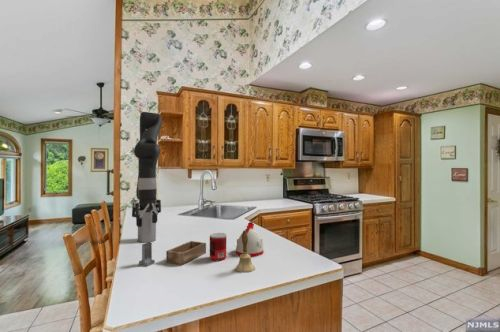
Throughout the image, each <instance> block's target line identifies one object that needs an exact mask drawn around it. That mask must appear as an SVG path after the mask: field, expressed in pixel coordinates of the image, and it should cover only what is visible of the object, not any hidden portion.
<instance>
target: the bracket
mask: <svg viewBox="0 0 500 332" xmlns="http://www.w3.org/2000/svg"><path fill="white" fill-rule="evenodd" d="M152 245H153V243H152V242H144V243H143V244H142V245H141V260H140V261H139V260H138V265H139V266H144V267H149V266H152V265H154V264H155V263H156V262H155V261H156V260H155V259H152V258H153V257H152V251H153V249H152V247H153V246H152Z"/></svg>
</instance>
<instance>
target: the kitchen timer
mask: <svg viewBox="0 0 500 332" xmlns="http://www.w3.org/2000/svg"><path fill="white" fill-rule="evenodd" d="M254 226H255V223H254V222H253V221H251V222H248V223H247V225H246V228H245V230H246V232H247V235H248V242H247V254H249V255H250V256H251V258H254V257H255V258H256V257H259V256H261V255H263V254H264V240H263V238H261V236H260V234H258V232H257V231H256V230H255V229H254ZM242 234H243V232H242V233H241V234H240V235H239V237H238V238H237V239H236V246H235V253H236V255H237V256H239V257H240V255H242V254H243V243H242Z"/></svg>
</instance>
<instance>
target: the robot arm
mask: <svg viewBox="0 0 500 332" xmlns="http://www.w3.org/2000/svg"><path fill="white" fill-rule="evenodd" d="M162 119H163V117H162V115H161V114H159V113H157V112H150V111H149V112H147V111H141V112H140V115H139V140H138V142H136V144H135V147H134V149H133V150H134V151H133V153H134V157H136V158H137V159H138V162H137V163H138V167H137V169H138V171H137V172H138V173H137V175H138V176H137V183H136V191H135V193H136V199H137V200H139V201H138V202H132V207H131V209H132V210H131V212H132V213H131V217H132V218H135V221H136V223H135V224H136V227H137V241H138V242H139V243H148V242H151V243H152V242H155V241H156V239H157V235H156V234H157V223H158V215H159V213H160V214H161V212H162V201H161V199H157V179H156V177H157V175H156V174H157V163H158V160H159V157H160V154H161V147H160V145H158V144H157V143H158V136H159V134H160V131H161V128H162V124H163V120H162Z"/></svg>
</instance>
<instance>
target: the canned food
mask: <svg viewBox="0 0 500 332" xmlns="http://www.w3.org/2000/svg"><path fill="white" fill-rule="evenodd" d="M226 258H227V234H226V233H224V232H214V233H211V234H210V235H209V259H210V260H211V261H214V262H222V261H223V260H226Z"/></svg>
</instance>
